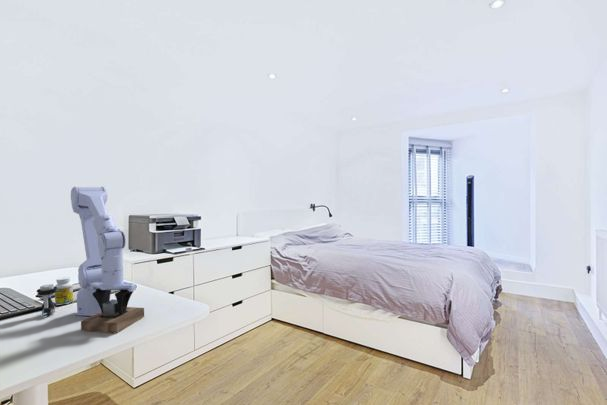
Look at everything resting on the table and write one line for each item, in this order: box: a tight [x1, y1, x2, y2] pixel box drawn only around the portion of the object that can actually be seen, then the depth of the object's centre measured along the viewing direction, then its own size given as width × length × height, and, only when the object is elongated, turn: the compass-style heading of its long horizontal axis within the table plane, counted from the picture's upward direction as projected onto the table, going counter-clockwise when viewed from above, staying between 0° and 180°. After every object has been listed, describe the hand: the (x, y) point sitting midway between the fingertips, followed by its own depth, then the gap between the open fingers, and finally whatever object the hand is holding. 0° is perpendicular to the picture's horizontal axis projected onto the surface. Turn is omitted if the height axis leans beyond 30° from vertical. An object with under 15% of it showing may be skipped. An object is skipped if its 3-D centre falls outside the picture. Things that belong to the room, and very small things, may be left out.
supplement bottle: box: [54, 276, 74, 305], centre depth 116 cm, size 5×5×10 cm
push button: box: [36, 283, 57, 319], centre depth 105 cm, size 7×5×10 cm
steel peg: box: [103, 299, 124, 318], centre depth 97 cm, size 4×4×7 cm
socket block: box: [80, 306, 145, 334], centre depth 97 cm, size 12×12×3 cm
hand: (114, 312), depth 97 cm, fingers open, 5 cm apart
